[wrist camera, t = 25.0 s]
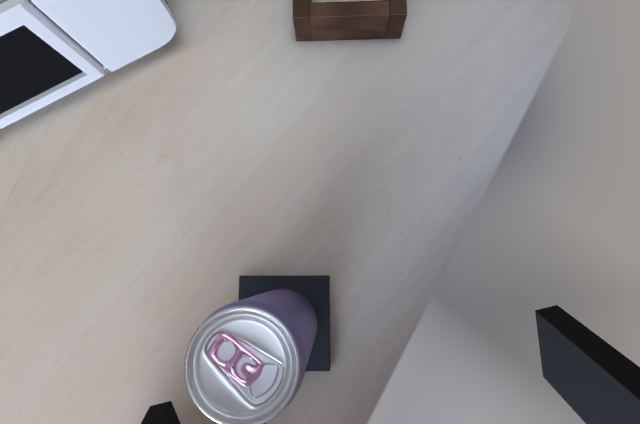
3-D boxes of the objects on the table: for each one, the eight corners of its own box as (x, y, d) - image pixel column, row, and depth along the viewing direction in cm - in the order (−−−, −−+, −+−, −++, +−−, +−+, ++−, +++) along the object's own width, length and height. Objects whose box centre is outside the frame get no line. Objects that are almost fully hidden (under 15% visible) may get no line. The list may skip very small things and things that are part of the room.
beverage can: (277, 274, 34) (230, 277, 19) (331, 315, 33) (328, 352, 18) (235, 330, 33) (154, 379, 18) (290, 373, 32) (252, 460, 18)
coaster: (329, 275, 34) (329, 275, 33) (329, 369, 33) (329, 371, 32) (240, 275, 34) (239, 275, 34) (238, 368, 33) (236, 370, 33)
